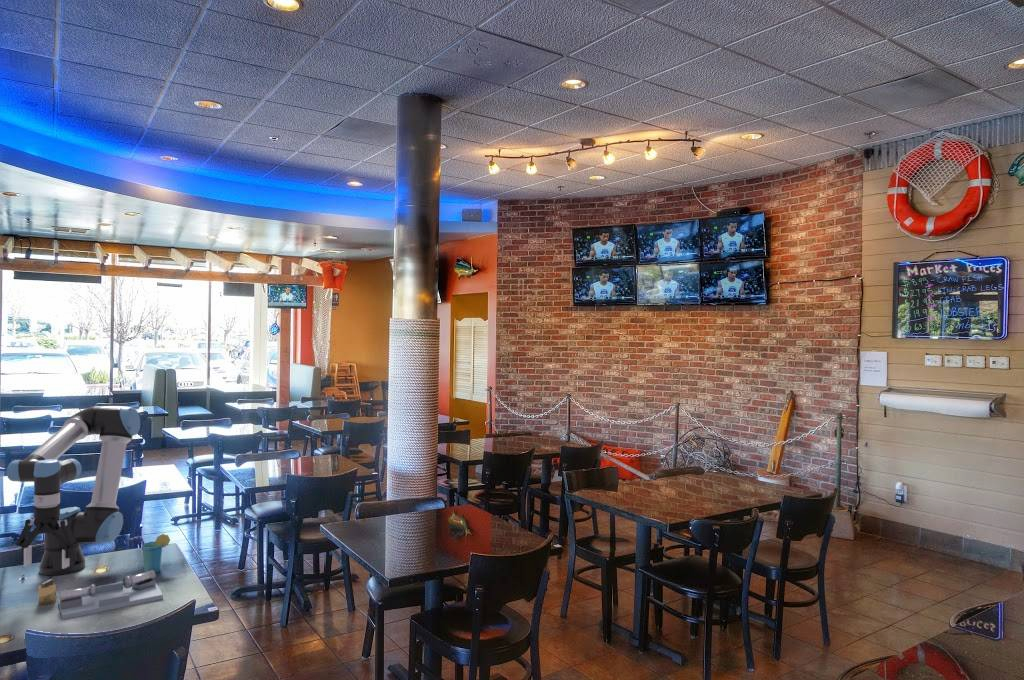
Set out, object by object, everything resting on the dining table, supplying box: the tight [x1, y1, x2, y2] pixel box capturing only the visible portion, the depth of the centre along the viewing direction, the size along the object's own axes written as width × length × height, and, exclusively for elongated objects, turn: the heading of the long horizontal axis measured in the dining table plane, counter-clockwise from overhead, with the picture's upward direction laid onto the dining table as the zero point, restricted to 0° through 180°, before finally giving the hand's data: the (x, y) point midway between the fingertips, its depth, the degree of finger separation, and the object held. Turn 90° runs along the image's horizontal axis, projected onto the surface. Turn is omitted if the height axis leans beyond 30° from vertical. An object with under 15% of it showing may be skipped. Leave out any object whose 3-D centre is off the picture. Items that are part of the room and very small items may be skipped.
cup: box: [129, 533, 171, 573], centre depth 271 cm, size 14×8×15 cm, turn 129°
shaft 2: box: [122, 570, 157, 591], centre depth 252 cm, size 5×10×6 cm, turn 147°
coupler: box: [38, 578, 57, 606], centre depth 241 cm, size 5×5×7 cm
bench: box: [57, 581, 164, 620], centre depth 243 cm, size 15×30×4 cm, turn 127°
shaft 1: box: [59, 583, 96, 602], centre depth 237 cm, size 4×10×4 cm, turn 127°
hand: (46, 566), depth 241 cm, fingers open, 13 cm apart
